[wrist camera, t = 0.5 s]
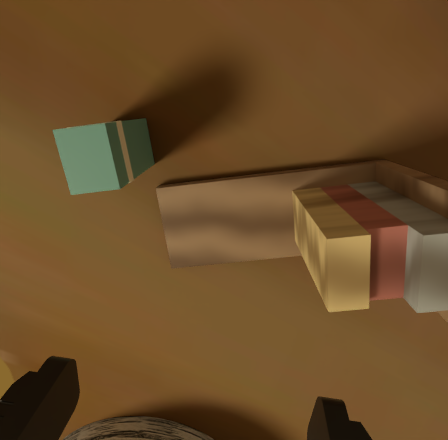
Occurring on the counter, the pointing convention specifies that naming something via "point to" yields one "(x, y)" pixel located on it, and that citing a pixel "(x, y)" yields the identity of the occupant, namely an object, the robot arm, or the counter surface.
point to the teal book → (104, 154)
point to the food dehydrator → (136, 430)
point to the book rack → (322, 229)
